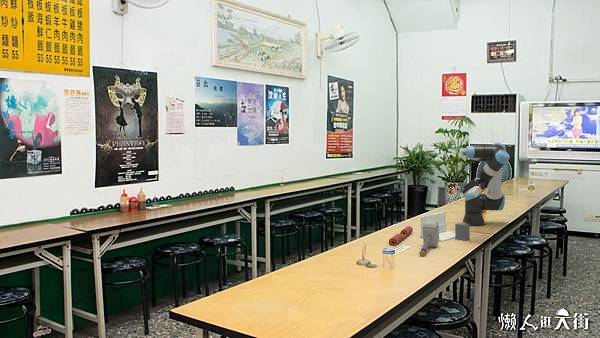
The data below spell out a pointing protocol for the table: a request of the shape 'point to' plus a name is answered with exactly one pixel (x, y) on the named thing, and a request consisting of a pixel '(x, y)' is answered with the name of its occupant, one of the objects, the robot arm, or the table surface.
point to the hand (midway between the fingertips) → (467, 195)
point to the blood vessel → (400, 236)
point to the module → (462, 231)
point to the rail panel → (441, 220)
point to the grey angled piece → (430, 235)
